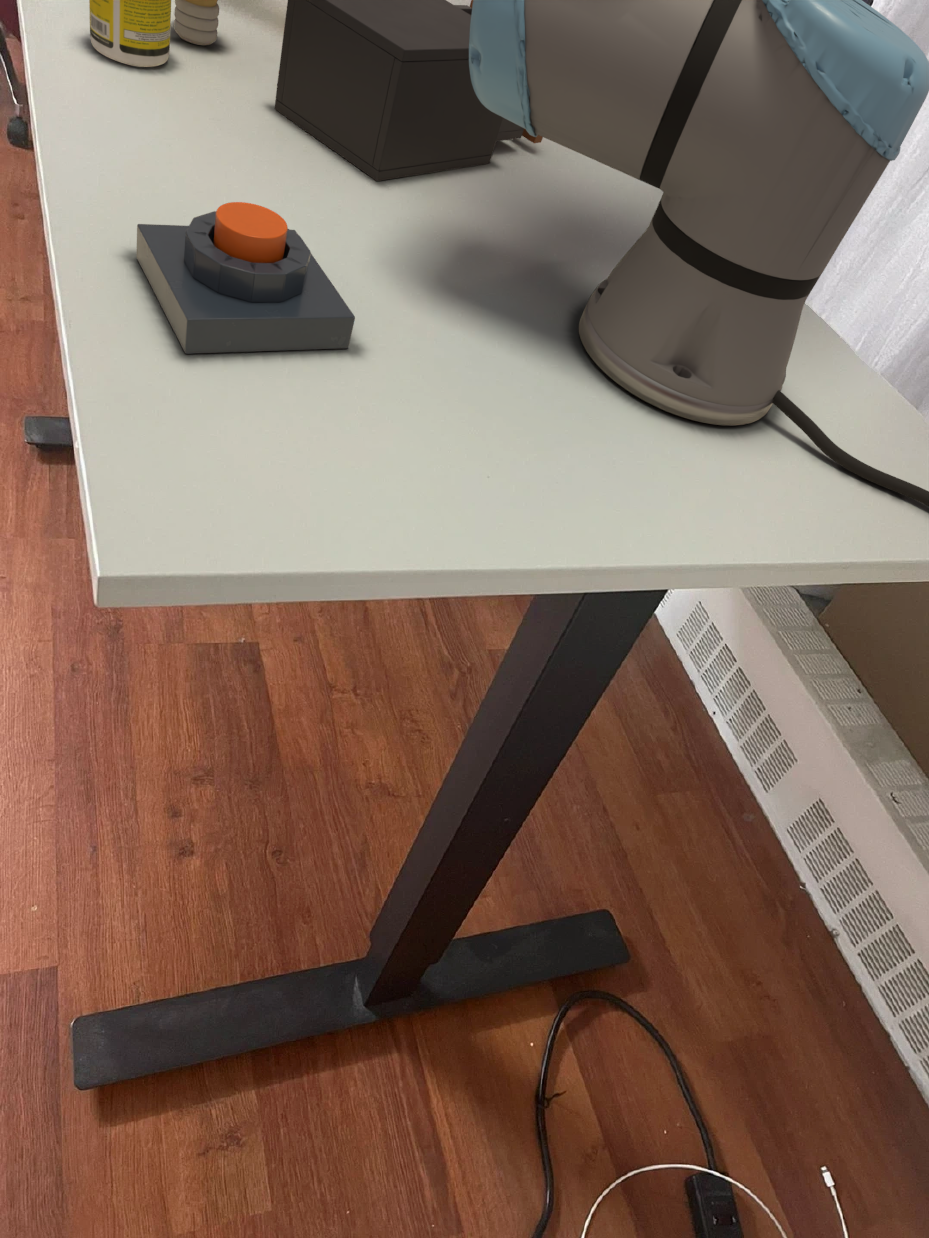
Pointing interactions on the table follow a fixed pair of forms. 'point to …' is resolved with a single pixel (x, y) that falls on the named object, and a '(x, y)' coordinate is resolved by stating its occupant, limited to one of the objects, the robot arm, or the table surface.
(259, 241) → the button
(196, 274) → the control box
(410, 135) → the cabinet
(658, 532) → the table surface
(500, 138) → the drawer
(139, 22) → the pill bottle
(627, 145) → the robot arm
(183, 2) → the light bulb
